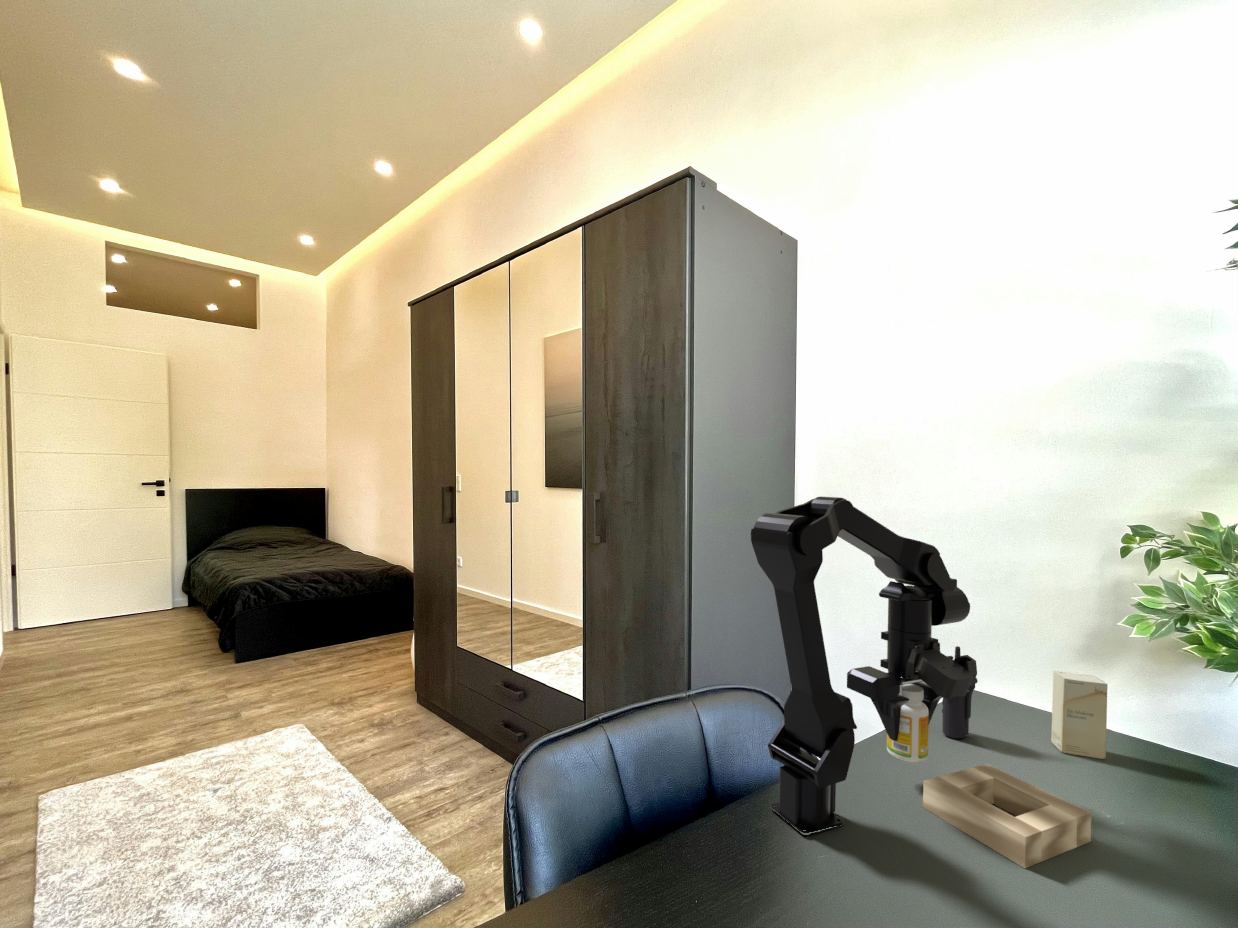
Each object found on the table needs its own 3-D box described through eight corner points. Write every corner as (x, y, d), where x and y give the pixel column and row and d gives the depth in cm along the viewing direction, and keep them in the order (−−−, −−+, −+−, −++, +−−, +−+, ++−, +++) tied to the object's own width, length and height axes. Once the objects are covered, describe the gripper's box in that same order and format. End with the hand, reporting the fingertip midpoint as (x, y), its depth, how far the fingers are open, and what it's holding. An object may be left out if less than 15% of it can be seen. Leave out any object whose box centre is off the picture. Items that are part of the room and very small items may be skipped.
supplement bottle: (918, 747, 87) (919, 681, 87) (934, 764, 81) (935, 694, 81) (881, 744, 87) (882, 679, 87) (894, 761, 82) (895, 692, 82)
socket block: (1025, 868, 66) (1025, 836, 66) (923, 807, 78) (923, 780, 78) (1090, 841, 71) (1091, 812, 71) (986, 788, 83) (986, 763, 83)
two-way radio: (951, 727, 104) (953, 642, 104) (979, 736, 100) (980, 648, 100) (938, 735, 100) (940, 647, 100) (967, 745, 97) (968, 654, 97)
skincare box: (1061, 753, 95) (1062, 678, 95) (1050, 741, 99) (1051, 669, 99) (1108, 760, 93) (1109, 683, 93) (1094, 747, 97) (1095, 674, 97)
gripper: (912, 650, 73) (910, 775, 73) (1006, 637, 81) (1004, 750, 81) (845, 628, 84) (842, 737, 83) (933, 618, 91) (932, 718, 91)
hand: (907, 736), depth 84 cm, fingers closed on supplement bottle, 5 cm apart
